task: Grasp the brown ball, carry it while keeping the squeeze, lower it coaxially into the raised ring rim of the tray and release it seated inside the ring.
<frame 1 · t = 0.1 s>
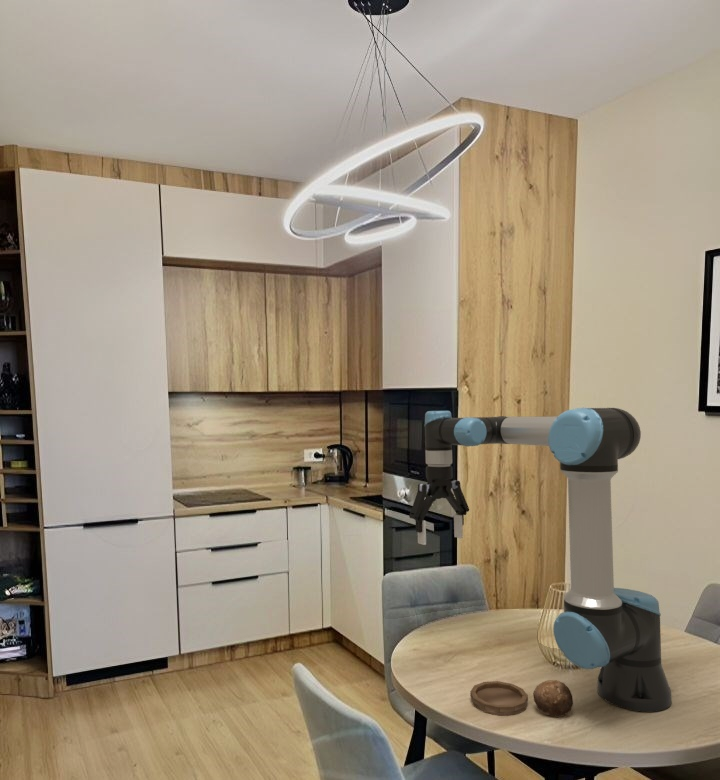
hand: (440, 540, 169), 28 cm above the table, fingers open, 13 cm apart
brown ball: (553, 712, 129), on the table
tray: (498, 701, 133), on the table
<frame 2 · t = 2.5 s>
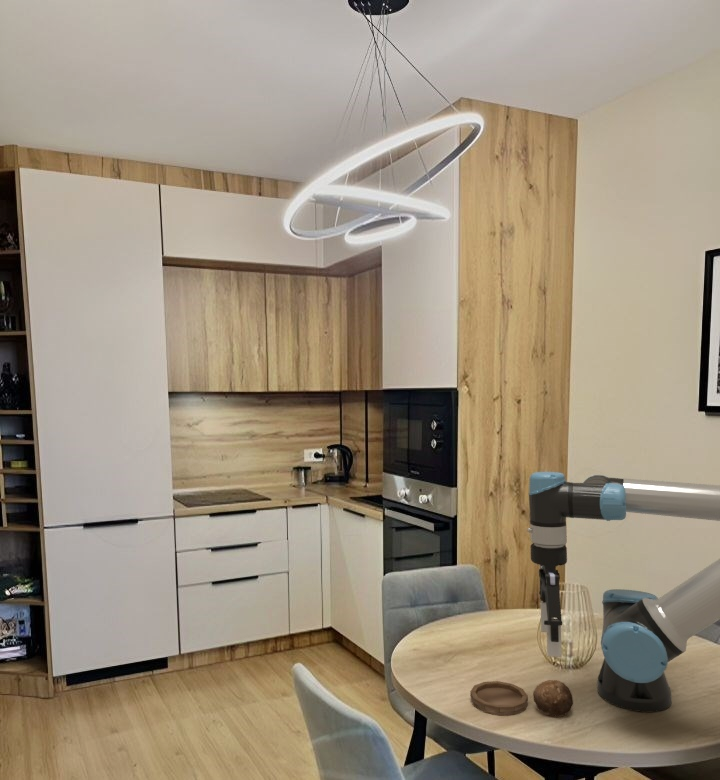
hand: (550, 643, 129), 14 cm above the table, fingers open, 13 cm apart
nothing on the table moved.
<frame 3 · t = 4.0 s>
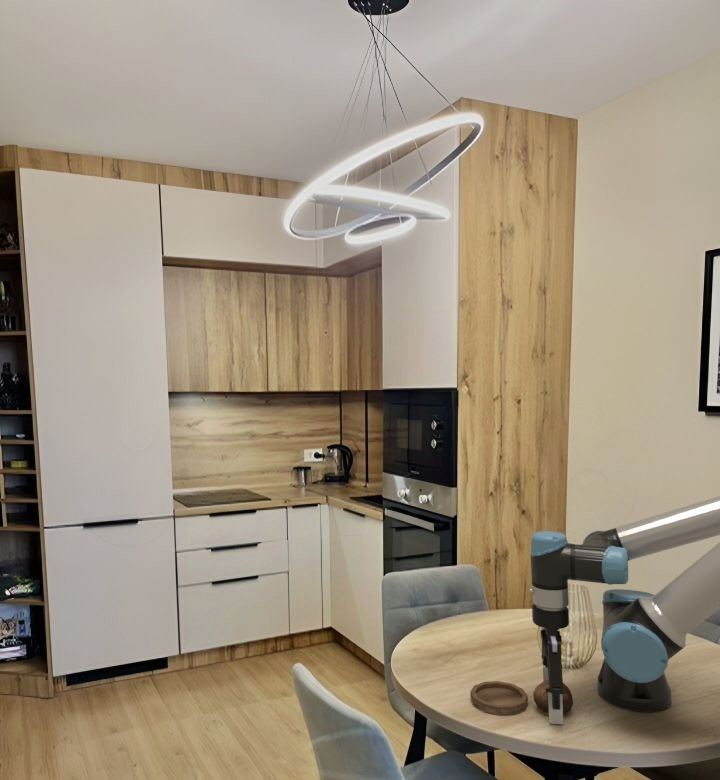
hand: (552, 709, 129), 0 cm above the table, fingers open, 10 cm apart
nothing on the table moved.
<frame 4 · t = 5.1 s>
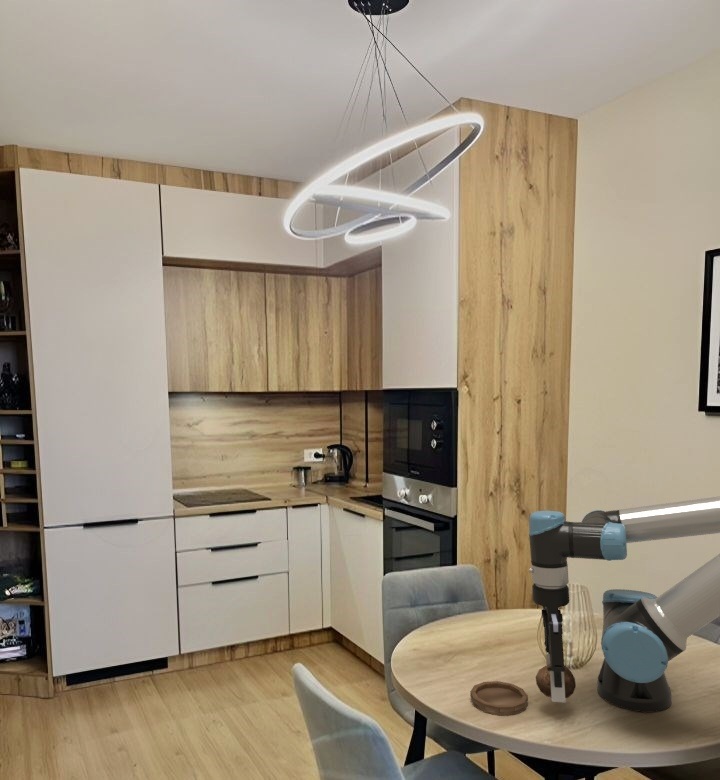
hand: (556, 692, 128), 4 cm above the table, fingers closed on brown ball, 7 cm apart
brown ball: (556, 695, 128), point 3 cm above the table, touching gripper
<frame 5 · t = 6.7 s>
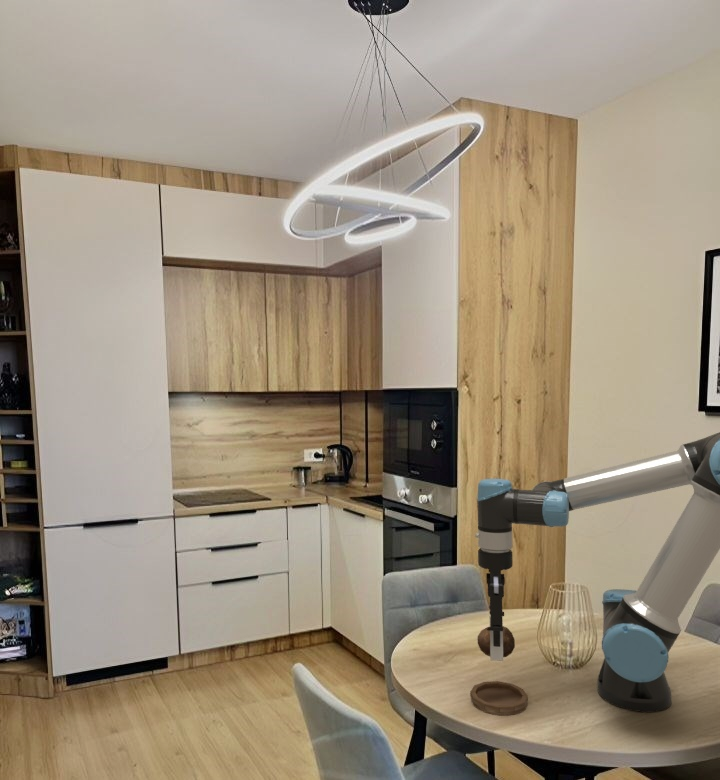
hand: (496, 652, 133), 11 cm above the table, fingers closed on brown ball, 7 cm apart
brown ball: (496, 655, 133), point 10 cm above the table, touching gripper
when the fingers open (2 cm above the table, at t = 8.2 s): brown ball stays where it is, resting on tray.
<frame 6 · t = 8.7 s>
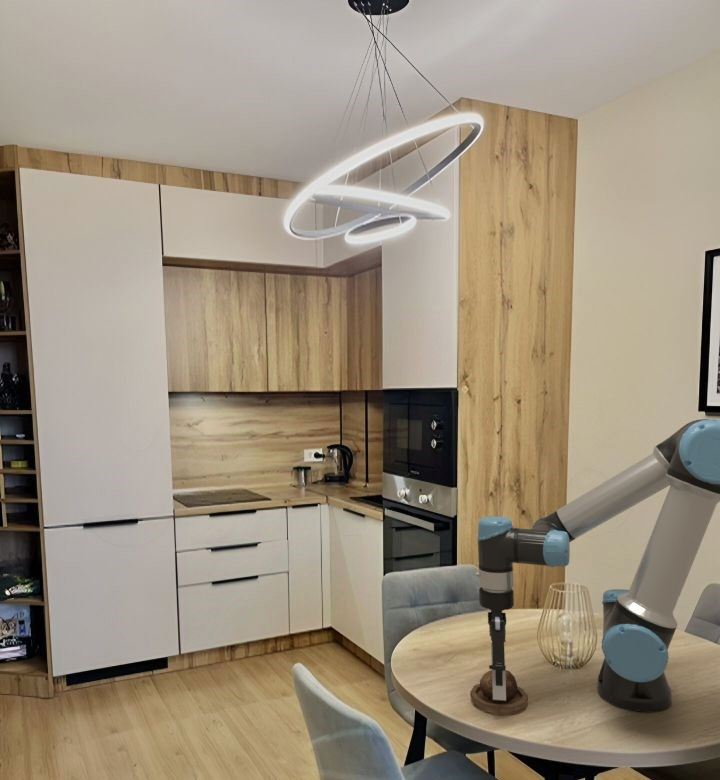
hand: (498, 684, 133), 4 cm above the table, fingers open, 13 cm apart
brown ball: (498, 699, 133), point 1 cm above the table, touching tray
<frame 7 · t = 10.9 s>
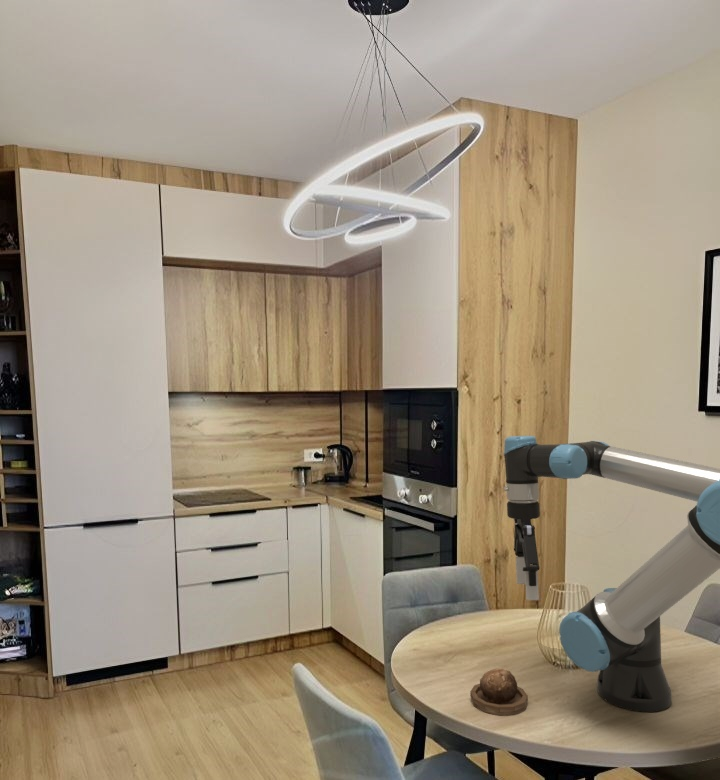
hand: (527, 591, 142), 22 cm above the table, fingers open, 13 cm apart
nothing on the table moved.
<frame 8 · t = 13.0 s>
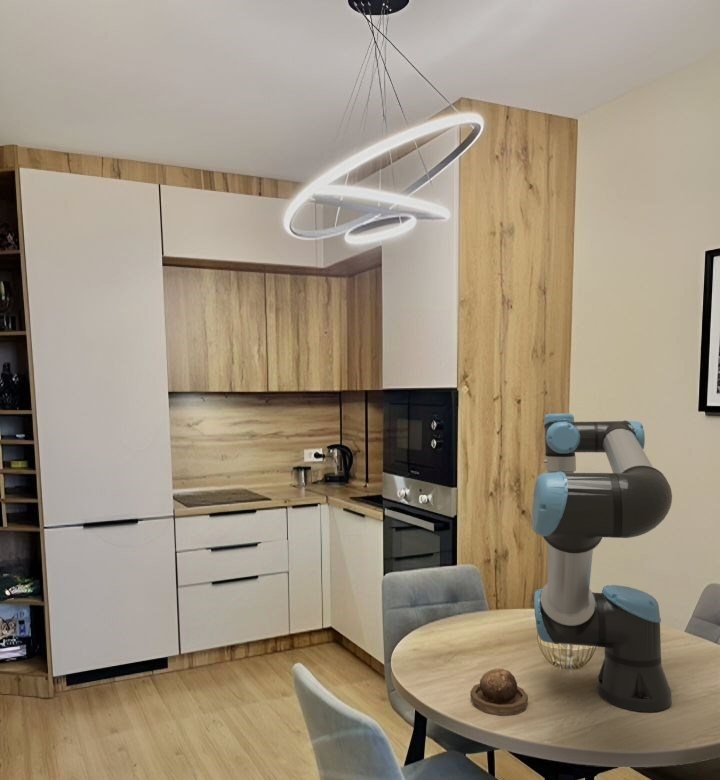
hand: (562, 554, 157), 27 cm above the table, fingers open, 13 cm apart
nothing on the table moved.
at the end: brown ball 0.1 cm off-centre on the tray, point 0.6 cm above the tray's base; brown ball tilted 0°; the gripper is holding nothing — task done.
